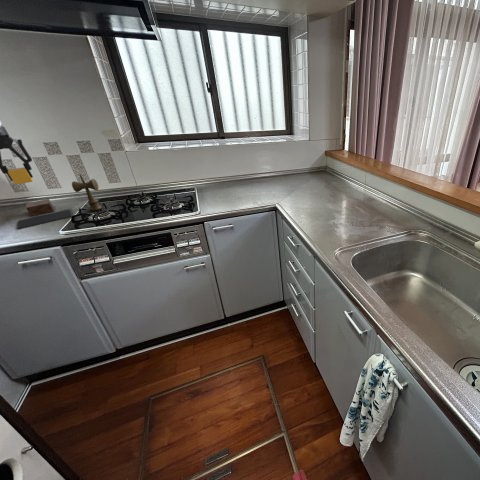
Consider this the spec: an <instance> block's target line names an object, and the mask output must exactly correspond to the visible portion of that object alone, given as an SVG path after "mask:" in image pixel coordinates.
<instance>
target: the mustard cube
mask: <svg viewBox="0 0 480 480" xmlns="http://www.w3.org/2000/svg"><path fill="white" fill-rule="evenodd" d="M8 174H9V175H10V177H11V178H12V180H13V181H12V182H13V183H14V185H20V184H27V183H32V182H33V181H34V180H33V177H32V178H31V177H30V176H29V174H28V172H27V170H26V169H25V167H24V166H23V167H17V168H16V167H15V168H10V169H8Z"/></svg>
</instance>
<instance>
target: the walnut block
mask: <svg viewBox="0 0 480 480" xmlns="http://www.w3.org/2000/svg"><path fill="white" fill-rule="evenodd" d="M53 205H54V204H52V202H51V200H50V198H46V199H39V200H35V201H30V202H26V203H25V209H26V210H27V212H28V213H29V215H30V218H32V217H37V216H41V215H46V214H50V213H55V209H54V208H55V207H54V206H53Z"/></svg>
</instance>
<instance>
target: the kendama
mask: <svg viewBox="0 0 480 480" xmlns="http://www.w3.org/2000/svg"><path fill="white" fill-rule="evenodd" d="M78 175H79V178H80V180H81V182H79V181H75V180H74V181H72V182H71V187H72V189H73V191H74V192H75V193H79V192H80V191H82V190H84V189H85V193H86V195H87V204H89V206H90V209H89V210H90V212H91V211H92V212H96V211H100V210H102V209H103V206H101V205H100V204H99V200H98V199H97V198H96V197H94V195H93V194H92V192H91V190H94V191H99V183H98V181H97V180H96V179H95V178H91V179H90V180H89V181H88V182H86V181H85V180H84V177H83V176H82V174H81V173H79V174H78ZM90 189H91V190H90Z"/></svg>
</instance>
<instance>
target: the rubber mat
mask: <svg viewBox="0 0 480 480" xmlns="http://www.w3.org/2000/svg"><path fill="white" fill-rule="evenodd" d="M67 218H72V213H71V210H70V209H64V210H60V211H54V212H50V213H46V214H41V215H36V216H32V217H29V218H24V219H23V218H22V219H20V220H18V222H17V230H21V229H26V228H29V227H35V226H37V225H38V226H39V225H43V224H47V223H51V222H56V221H59V220H64V219H67Z"/></svg>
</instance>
